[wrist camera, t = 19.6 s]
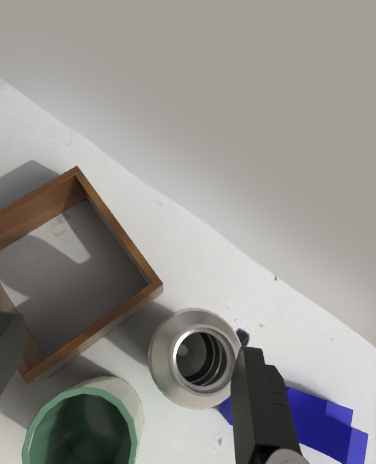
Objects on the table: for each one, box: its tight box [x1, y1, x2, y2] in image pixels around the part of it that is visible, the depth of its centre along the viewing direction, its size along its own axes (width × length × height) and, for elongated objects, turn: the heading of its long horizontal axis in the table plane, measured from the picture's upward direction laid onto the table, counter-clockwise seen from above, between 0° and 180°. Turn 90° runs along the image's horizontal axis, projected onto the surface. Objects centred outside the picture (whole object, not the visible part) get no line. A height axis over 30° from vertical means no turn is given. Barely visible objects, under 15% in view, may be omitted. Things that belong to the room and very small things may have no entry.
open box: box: [0, 166, 163, 384], centre depth 36 cm, size 16×15×6 cm
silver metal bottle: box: [148, 308, 241, 409], centre depth 28 cm, size 6×7×20 cm
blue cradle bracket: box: [219, 386, 368, 464], centre depth 33 cm, size 12×4×6 cm, turn 71°
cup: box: [22, 376, 144, 464], centre depth 30 cm, size 8×8×10 cm
